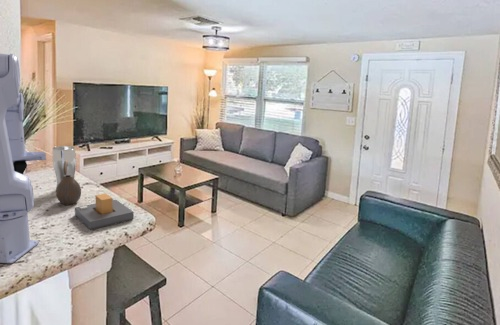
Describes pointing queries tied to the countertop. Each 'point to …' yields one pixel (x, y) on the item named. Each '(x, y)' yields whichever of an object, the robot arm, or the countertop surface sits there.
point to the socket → (103, 215)
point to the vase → (68, 190)
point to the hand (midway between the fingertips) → (15, 189)
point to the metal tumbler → (64, 161)
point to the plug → (104, 204)
